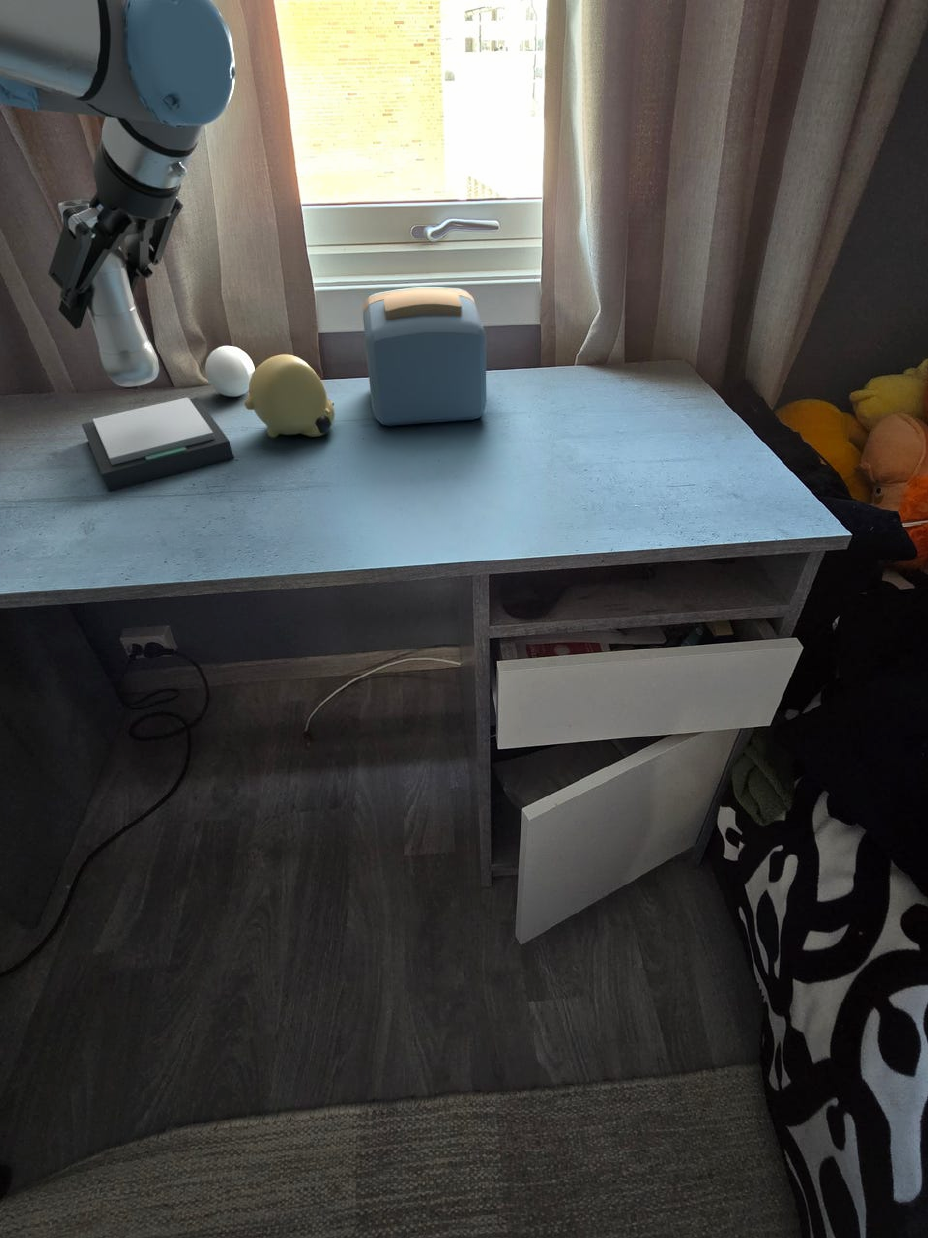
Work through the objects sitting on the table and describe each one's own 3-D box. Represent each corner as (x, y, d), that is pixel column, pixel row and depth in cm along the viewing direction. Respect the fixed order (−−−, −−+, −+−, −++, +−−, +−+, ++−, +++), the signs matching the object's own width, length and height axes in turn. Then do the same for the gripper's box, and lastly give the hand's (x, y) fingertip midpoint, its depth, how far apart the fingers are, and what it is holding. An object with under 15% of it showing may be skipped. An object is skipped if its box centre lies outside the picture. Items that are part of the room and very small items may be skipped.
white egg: (256, 403, 105) (245, 355, 100) (207, 405, 105) (193, 357, 100) (267, 377, 112) (257, 331, 107) (221, 378, 112) (209, 332, 107)
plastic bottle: (133, 397, 85) (68, 211, 71) (98, 386, 87) (29, 205, 74) (175, 378, 89) (120, 200, 75) (140, 368, 91) (82, 194, 78)
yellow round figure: (298, 469, 97) (348, 421, 92) (225, 412, 91) (274, 357, 86) (307, 434, 104) (354, 388, 99) (240, 379, 98) (286, 327, 93)
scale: (108, 491, 86) (98, 466, 84) (88, 440, 97) (78, 417, 94) (234, 458, 92) (227, 433, 90) (202, 413, 103) (195, 390, 100)
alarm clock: (472, 377, 111) (471, 270, 100) (488, 422, 99) (489, 306, 88) (370, 384, 109) (359, 277, 99) (374, 431, 97) (362, 314, 87)
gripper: (89, 212, 61) (48, 362, 78) (238, 176, 74) (174, 312, 91) (25, 137, 60) (-3, 307, 77) (188, 113, 72) (133, 263, 89)
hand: (93, 309), depth 84 cm, fingers closed on plastic bottle, 6 cm apart
